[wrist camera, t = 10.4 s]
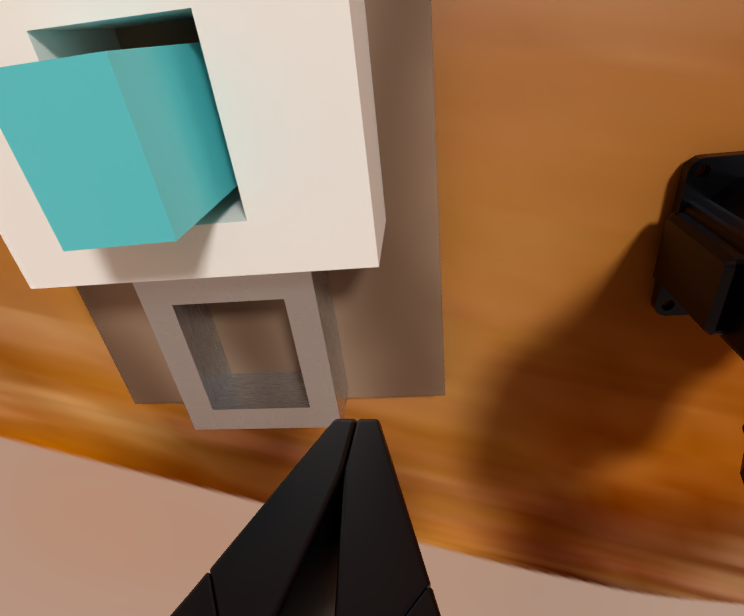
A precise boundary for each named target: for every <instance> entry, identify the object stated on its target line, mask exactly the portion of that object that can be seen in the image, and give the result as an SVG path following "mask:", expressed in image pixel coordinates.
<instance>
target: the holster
mask: <svg viewBox="0 0 744 616" xmlns="http://www.w3.org/2000/svg"><path fill="white" fill-rule="evenodd" d="M132 283H133V285H134V288H135V290H136V292H137V295H138V297H139V299H140V302H141V304H142V306H143V309H144V311H145V313H146V316H147V318H148V320H149V323H150V325H151V327H152V330H153V332H154V334H155V337H156V339H157V341H158V344H159V346H160V348H161V351H162V353H163V355H164V358H165V360H166V362H167V365H168V367H169V369H170V372H171V374H172V376H173V379H174V381H175V383H176V386H177V388H178V390H179V393H180V395H181V397H182V400H183V402H184V404H185V407H186V409H187V411H188V414H189V416H190V418H191V421H192V423H193V425H194V428H195V430H213V429H266V428H320V427H329V426H330V424H331V423H332V422H333V421H334V420H336V419H343V417H344V412H345V407H346V401H347V396H348V390H349V387H348V382H347V376H346V370H345V365H344V359H343V353H342V348H341V342H340V337H339V331H338V325H337V320H336V314H335V308H334V303H333V297H332V291H331V286H330V280H329V275H328V270H324V271H308V272H292V273H276V274H260V275H244V276H228V277H212V278H196V279H180V280H164V281H148V282H132ZM275 299H284V301H285V305H286V309H287V313H288V318H289V322H290V326H291V330H292V334H293V338H294V342H295V347H296V351H297V355H298V359H299V363H300V367H301V371H283V372H254V373H232V372H231V369H230V366H229V363H228V360H227V357H226V354H225V351H224V348H223V346H222V343H221V340H220V337H219V334H218V331H217V328H216V325H215V322H214V319H213V316H212V313H211V310H210V307H209V305H208V303H220V302H238V301H257V300H275Z"/></svg>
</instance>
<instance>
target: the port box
mask: <svg viewBox="0 0 744 616" xmlns="http://www.w3.org/2000/svg"><path fill="white" fill-rule="evenodd" d="M191 18H194V21H195V25H196V28H197V32H198V36H199V40H200V44H201V48H202V51H203V55H204V59H205V63H206V67H207V70H208V74H209V78H210V82H211V86H212V89H213V93H214V97H215V101H216V105H217V109H218V112H219V116H220V120H221V124H222V128H223V131H224V135H225V139H226V143H227V147H228V150H229V154H230V158H231V162H232V166H233V169H234V173H235V177H236V181H237V185H238V186H237V187H235V188H234V189H233V190H232V191H231V192H230V193H229V194H228V195H227V196H226V197H224V198H223V199H222V200H221V201H220V202H219V203H218V204H217V205H216V206H215V207H214V208H212V209H211V210H210V211H209V212H208V213H207V214H206V215H205V216H204V217H203V218H201V219H200V220H199V221H198V222H197V223H196V224H195V225H194V226H193V227H192V228H191V229H189V230H188V231H187V232H186V233H185V234H184V235H183V236H182V237H181V238H180V239H179V240H177V241H173V242H162V243H151V244H140V245H129V246H118V247H107V248H96V249H85V250H75V251H63V249H62V247H61V245H60V243H59V241H58V239H57V237H56V236H55V234H54V232H53V230H52V228H51V226H50V224H49V222H48V220H47V218H46V216H45V214H44V212H43V210H42V208H41V206H40V204H39V203H38V201H37V199H36V197H35V195H34V193H33V191H32V189H31V187H30V185H29V183H28V181H27V179H26V177H25V175H24V173H23V171H22V169H21V168H20V166H19V164H18V162H17V160H16V158H15V156H14V154H13V152H12V150H11V148H10V146H9V144H8V142H7V140H6V138H5V136H4V135H3V133H2V131H1V129H0V235H1V236H2V238H3V240H4V242H5V244H6V245H7V247H8V249H9V251H10V252H11V254H12V256H13V258H14V260H15V261H16V263H17V265H18V267H19V268H20V270H21V272H22V274H23V276H24V277H25V279H26V281H27V283H28V284H29V286H30V288H31V289H35V288H51V287H67V286H83V285H99V284H116V283H132V282H148V281H164V280H180V279H196V278H212V277H228V276H244V275H260V274H276V273H292V272H308V271H324V270H340V269H356V268H372V267H379V263H380V257H381V250H382V243H383V237H384V230H385V223H386V215H385V205H384V195H383V185H382V175H381V164H380V154H379V144H378V134H377V124H376V114H375V103H374V93H373V83H372V73H371V63H370V53H369V42H368V32H367V22H366V12H365V2H364V0H0V67H5V66H11V65H18V64H24V63H31V62H37V61H44V60H50V59H57V58H63V57H70V56H76V55H83V54H89V53H95V52H102V51H110V50H121V47H120V44H119V41H118V38H117V35H116V32H115V29H118V28H125V27H133V26H140V25H147V24H154V23H162V22H169V21H176V20H184V19H191Z"/></svg>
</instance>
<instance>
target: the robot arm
mask: <svg viewBox="0 0 744 616" xmlns="http://www.w3.org/2000/svg"><path fill="white" fill-rule="evenodd" d="M701 165H705V169H704V171H703V172H702V173H701V174H700V175H697V176H695V171H696V170H697V168H698V167H700V166H701ZM653 276H654V277H655V279H656V282H655V287H654V291H653V295H652V299H651V305H652V307H653V308H654V310H655V311H656V312H657V313H658V314H660V315H665V316H666V315H688V314H689V315H690V316H691V317H692V318H693V319H694V320H695V321H696V322H697V323H698V324H699V326H700V327H701V328H702V329H703V330H704V331H705V332H706V333H708V334H709V335H720V336H721V337H722V338H723V339H724V340H725V342H726V343H727V344H728V345H729V346H730V347H731V348H732V349H733V350H734V351H735V352H736V353H737V354H738V355H739V356H740V357H741V358H742V359H743V360H744V151H737V152H725V153H714V154H702V155H697V156H694V157H692V158H691V159H689V160H688V161H687V162H686V163H685V165H684V167H683V169H682V172H681V177H680V181H679V185H678V189H677V194H676V198H675V202H674V206H673V211H672V214H671V215H670V216H669V217H668V218H667V219H666V221H665V226H664V230H663V234H662V238H661V243H660V247H659V251H658V256H657V260H656V264H655V269H654V273H653ZM667 300H670V302H669V303H668V304H666V305H663V306H662V304H663V303H664V302H665V301H667ZM742 429H743V432H744V425H743V426H742ZM740 474H741V477H742V480H743V483H744V454H743V459H742V465H741V470H740ZM210 573H211V574H210ZM210 573H206V574H205V576H204V577H203V578H202V579H201V580H200V582H199V583H198V584H197V585H196V586H195V588H194V589H193V590H192V591H191V592H190V594H189V595H188V596H187V597H186V598H185V599H184V601H183V602H182V603H181V604H180V605H179V606H178V607H177V609H176V610H175V611H174V612H173V613H172V614H171V615H170V616H441V615H440V612H439V609H438V605H437V602H436V599H435V596H434V593H433V590H432V588H431V587H430V581H429V577H428V575H427V571H426V568H425V565H424V561H423V558H422V555H421V552H420V549H419V546H418V542H417V539H416V536H415V533H414V529H413V526H412V523H411V520H410V517H409V514H408V510H407V507H406V504H405V501H404V498H403V494H402V491H401V488H400V485H399V482H398V478H397V475H396V472H395V469H394V466H393V462H392V459H391V456H390V453H389V450H388V446H387V443H386V440H385V437H384V434H383V430H382V427H381V424H380V422H379V420H377V419H360V420H358V421H356V420H355V419H336V420H334V421H333V422H332V423H331V424H330V426H329V427H328V428H327V429H326V430H325V432H324V433H323V434H322V435H321V436H320V438H319V439H318V440H317V441H316V442H315V444H314V445H313V446H312V447H311V448H310V450H309V451H308V452H307V453H306V454H305V456H304V457H303V458H302V459H301V460H300V462H299V463H298V464H297V465H296V466H295V468H294V469H293V470H292V471H291V472H290V474H289V475H288V476H287V477H286V478H285V480H284V481H283V482H282V483H281V484H280V486H279V487H278V488H277V489H276V490H275V492H274V493H273V494H272V495H271V497H270V498H269V499H268V500H267V501H266V503H265V504H264V505H263V506H262V507H261V509H260V510H259V511H258V512H257V513H256V515H255V516H254V517H253V518H252V519H251V521H250V522H249V523H248V524H247V525H246V527H245V528H244V529H243V530H242V531H241V533H240V534H239V535H238V536H237V537H236V539H235V540H234V541H233V542H232V543H231V545H230V546H229V547H228V548H227V549H226V551H225V552H224V553H223V554H222V555H221V557H220V558H219V559H218V560H217V561H216V563H215V564H214V565H213V566H212V568H211V569H210Z"/></svg>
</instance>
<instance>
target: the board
mask: <svg viewBox="0 0 744 616" xmlns="http://www.w3.org/2000/svg"><path fill="white" fill-rule="evenodd" d="M364 2H365V12H366V22H367V32H368V42H369V53H370V63H371V73H372V83H373V93H374V103H375V114H376V124H377V134H378V144H379V154H380V164H381V175H382V185H383V195H384V205H385V215H386V223H385V230H384V237H383V243H382V250H381V257H380V263H379V267H372V268H356V269H340V270H328V275H329V280H330V286H331V291H332V297H333V303H334V308H335V314H336V320H337V325H338V331H339V337H340V342H341V348H342V353H343V359H344V365H345V370H346V376H347V382H348V387H349V390H348V396H347V398H369V397H406V396H444V395H445V378H444V350H443V323H442V295H441V267H440V240H439V212H438V184H437V157H436V129H435V102H434V74H433V46H432V19H431V0H364ZM115 32H116V35H117V38H118V41H119V44H120V47H121V49H132V48H143V47H154V46H165V45H176V44H187V43H198V42H200V40H199V36H198V32H197V28H196V25H195V21H194V18H191V19H184V20H176V21H169V22H162V23H154V24H147V25H140V26H133V27H125V28H118V29H115ZM76 287H77V289H78V291H79V293H80V295H81V297H82V299H83V301H84V303H85V305H86V307H87V309H88V311H89V313H90V315H91V317H92V319H93V321H94V323H95V325H96V327H97V329H98V331H99V333H100V335H101V337H102V339H103V341H104V343H105V345H106V347H107V349H108V351H109V353H110V355H111V357H112V359H113V360H114V362H115V364H116V366H117V368H118V370H119V372H120V374H121V376H122V378H123V380H124V382H125V384H126V386H127V388H128V390H129V392H130V394H131V396H132V398H133V400H134V402H135V404H145V403H182V402H183V400H182V397H181V395H180V393H179V390H178V388H177V386H176V383H175V381H174V379H173V376H172V374H171V372H170V369H169V367H168V365H167V362H166V360H165V358H164V355H163V353H162V351H161V348H160V346H159V344H158V341H157V339H156V337H155V334H154V332H153V330H152V327H151V325H150V323H149V320H148V318H147V316H146V313H145V311H144V309H143V306H142V304H141V302H140V299H139V297H138V295H137V292H136V290H135V288H134V285H133V283H116V284H99V285H83V286H76ZM208 305H209V307H210V310H211V313H212V316H213V319H214V322H215V325H216V328H217V331H218V334H219V337H220V340H221V343H222V346H223V348H224V351H225V354H226V357H227V360H228V363H229V366H230V369H231V372H232V373H254V372H283V371H301V367H300V363H299V359H298V355H297V351H296V347H295V342H294V338H293V334H292V330H291V326H290V322H289V318H288V313H287V309H286V305H285V301H284V299H275V300H257V301H238V302H220V303H208Z"/></svg>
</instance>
